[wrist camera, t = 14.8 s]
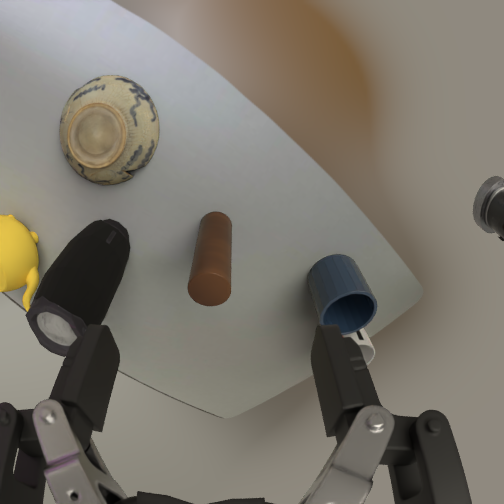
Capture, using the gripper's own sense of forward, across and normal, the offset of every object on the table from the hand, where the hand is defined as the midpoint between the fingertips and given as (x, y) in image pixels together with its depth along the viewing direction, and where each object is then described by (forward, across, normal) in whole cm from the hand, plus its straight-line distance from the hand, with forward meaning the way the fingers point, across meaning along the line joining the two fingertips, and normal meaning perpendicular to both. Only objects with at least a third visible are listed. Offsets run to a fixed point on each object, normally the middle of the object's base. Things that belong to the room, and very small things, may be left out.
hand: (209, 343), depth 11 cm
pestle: (+30, +2, +11) cm, 32 cm away
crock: (+30, -17, +20) cm, 40 cm away
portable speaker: (+30, +18, +13) cm, 38 cm away
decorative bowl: (+30, +16, -4) cm, 34 cm away
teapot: (+30, +38, +13) cm, 50 cm away
